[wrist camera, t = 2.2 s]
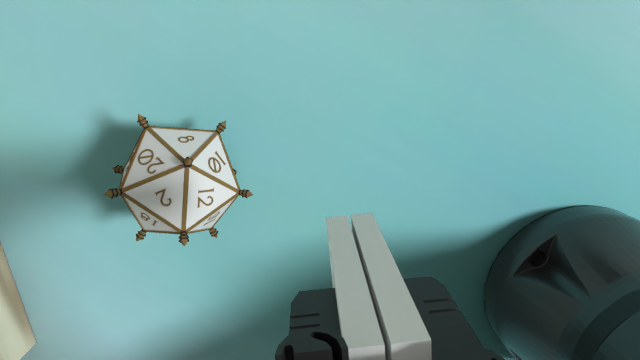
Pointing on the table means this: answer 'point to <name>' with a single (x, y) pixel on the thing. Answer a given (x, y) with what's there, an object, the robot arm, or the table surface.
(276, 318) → the table surface
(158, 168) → the game die
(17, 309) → the birch board
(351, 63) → the table surface
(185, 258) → the table surface
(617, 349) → the robot arm
